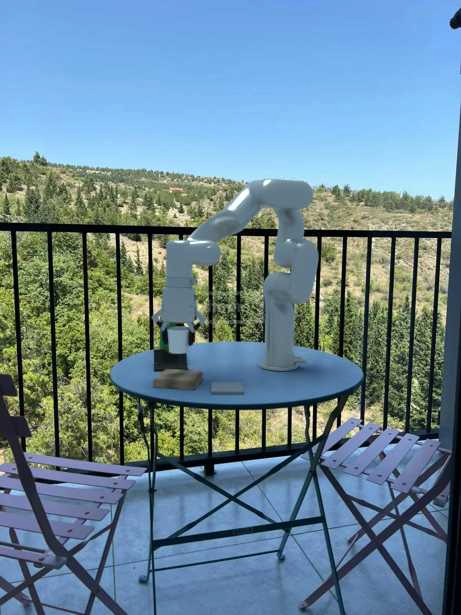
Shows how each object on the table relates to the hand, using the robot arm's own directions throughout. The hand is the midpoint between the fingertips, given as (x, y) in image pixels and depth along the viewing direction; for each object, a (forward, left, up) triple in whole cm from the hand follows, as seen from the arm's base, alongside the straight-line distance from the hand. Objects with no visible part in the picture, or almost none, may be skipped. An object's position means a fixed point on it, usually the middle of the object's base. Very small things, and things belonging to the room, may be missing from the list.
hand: (178, 343), depth 150 cm
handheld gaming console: (+7, -17, -12) cm, 22 cm away
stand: (0, 0, -12) cm, 12 cm away
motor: (+8, -25, -12) cm, 29 cm away
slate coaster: (-15, +4, -12) cm, 20 cm away
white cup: (0, 0, -3) cm, 3 cm away
